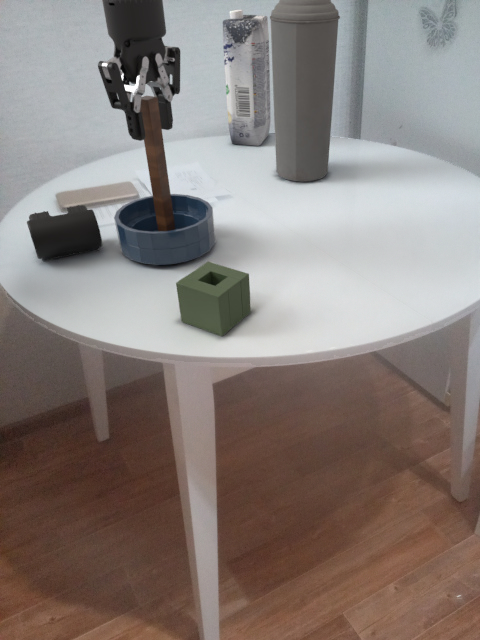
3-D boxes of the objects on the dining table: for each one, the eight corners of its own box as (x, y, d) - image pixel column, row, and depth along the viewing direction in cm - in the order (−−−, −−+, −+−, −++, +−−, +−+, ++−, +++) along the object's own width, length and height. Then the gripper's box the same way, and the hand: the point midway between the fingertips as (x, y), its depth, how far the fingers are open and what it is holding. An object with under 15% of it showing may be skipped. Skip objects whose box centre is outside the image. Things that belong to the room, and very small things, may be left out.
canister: (260, 177, 118) (254, -28, 95) (293, 160, 126) (294, -32, 104) (312, 189, 112) (318, -25, 90) (342, 170, 120) (355, -30, 98)
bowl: (174, 278, 85) (169, 241, 81) (101, 254, 91) (93, 219, 87) (233, 239, 95) (231, 205, 91) (164, 220, 101) (159, 187, 97)
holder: (222, 336, 73) (218, 296, 69) (181, 321, 75) (175, 282, 72) (251, 312, 77) (249, 273, 73) (211, 299, 80) (207, 261, 76)
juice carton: (273, 135, 141) (270, 7, 123) (262, 148, 133) (258, 13, 116) (239, 133, 142) (232, 6, 125) (226, 145, 134) (217, 12, 117)
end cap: (41, 269, 87) (28, 228, 83) (35, 250, 92) (23, 211, 88) (105, 255, 90) (96, 216, 86) (96, 238, 95) (87, 200, 91)
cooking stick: (169, 246, 91) (147, 100, 77) (160, 243, 92) (137, 98, 78) (177, 241, 93) (157, 97, 79) (168, 238, 93) (146, 95, 79)
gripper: (147, -12, 77) (165, 118, 88) (67, -2, 68) (97, 143, 78) (190, -10, 74) (203, 125, 85) (112, 1, 64) (137, 152, 75)
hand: (152, 133), depth 81 cm, fingers open, 5 cm apart
